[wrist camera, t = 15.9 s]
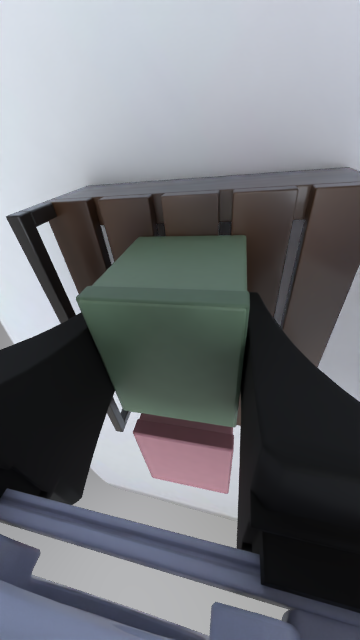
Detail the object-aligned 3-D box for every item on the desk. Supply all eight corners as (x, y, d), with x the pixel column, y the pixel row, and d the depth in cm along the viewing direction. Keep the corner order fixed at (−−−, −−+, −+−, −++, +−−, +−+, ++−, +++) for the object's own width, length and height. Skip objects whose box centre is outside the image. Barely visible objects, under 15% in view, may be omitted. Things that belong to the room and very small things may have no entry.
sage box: (248, 232, 9) (250, 306, 5) (238, 338, 13) (235, 429, 9) (136, 234, 10) (73, 298, 6) (156, 332, 14) (122, 411, 10)
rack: (350, 167, 10) (432, 198, 6) (283, 387, 20) (294, 463, 16) (87, 185, 13) (4, 216, 9) (141, 371, 23) (115, 431, 18)
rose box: (236, 362, 14) (233, 451, 10) (231, 414, 17) (228, 494, 13) (160, 354, 15) (131, 433, 11) (170, 405, 18) (151, 478, 14)
